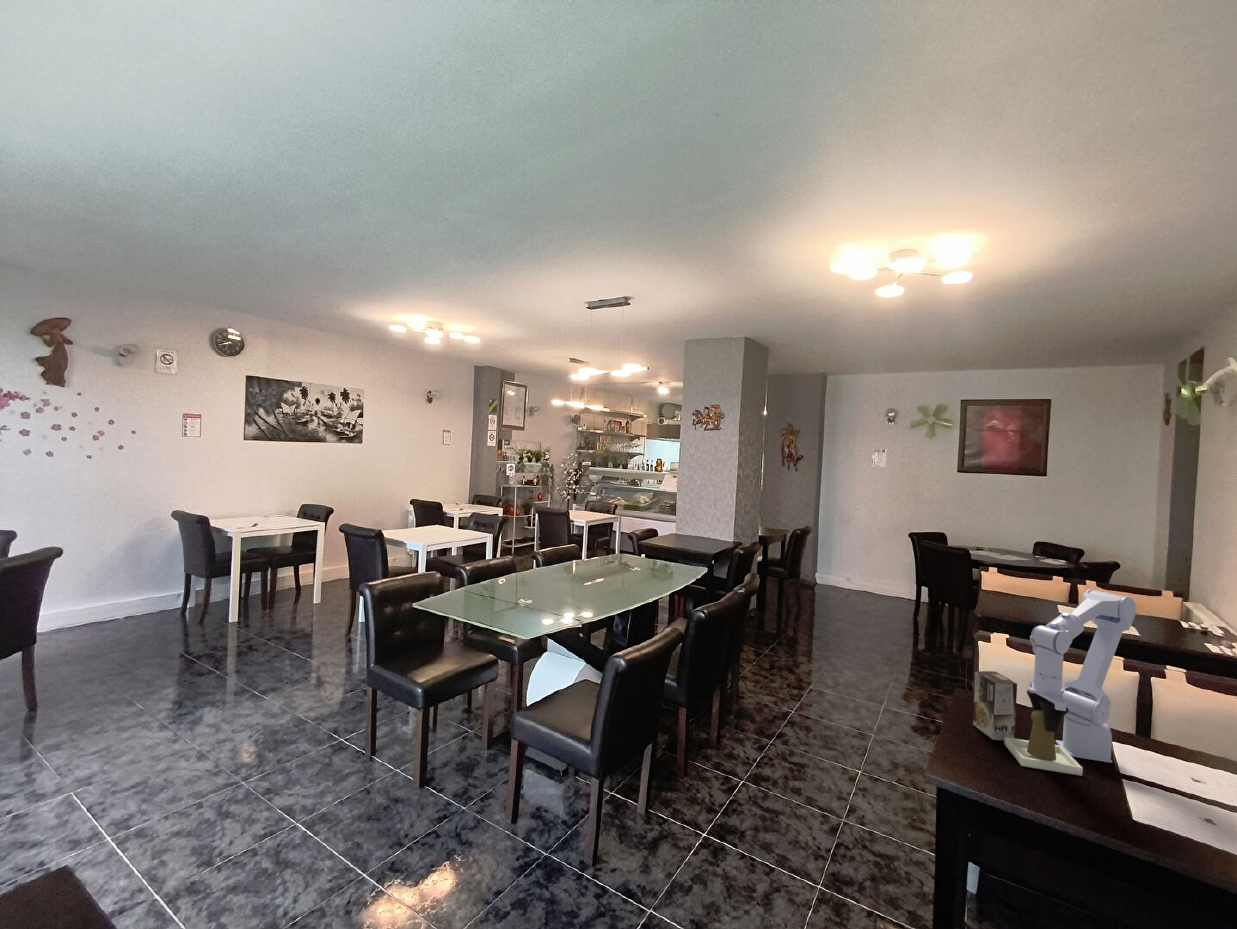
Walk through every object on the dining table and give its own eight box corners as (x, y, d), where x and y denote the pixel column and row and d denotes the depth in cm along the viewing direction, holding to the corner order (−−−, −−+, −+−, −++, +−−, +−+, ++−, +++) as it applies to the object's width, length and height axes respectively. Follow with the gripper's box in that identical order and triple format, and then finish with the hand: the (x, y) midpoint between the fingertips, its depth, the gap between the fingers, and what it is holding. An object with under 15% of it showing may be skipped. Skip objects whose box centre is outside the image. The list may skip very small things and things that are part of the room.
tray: (1060, 752, 147) (1060, 745, 147) (1082, 775, 136) (1082, 767, 136) (1004, 744, 150) (1004, 736, 150) (1021, 765, 140) (1021, 758, 140)
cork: (1062, 762, 138) (1064, 718, 139) (1036, 758, 139) (1039, 715, 139) (1046, 750, 144) (1048, 708, 145) (1021, 747, 145) (1024, 705, 145)
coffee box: (1015, 741, 152) (1018, 683, 152) (992, 740, 152) (995, 682, 152) (993, 725, 161) (996, 670, 161) (971, 724, 161) (974, 669, 161)
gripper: (1018, 661, 150) (1015, 710, 150) (1043, 682, 136) (1040, 736, 136) (1048, 665, 148) (1045, 714, 148) (1077, 687, 134) (1074, 741, 134)
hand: (1045, 725), depth 142 cm, fingers closed on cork, 5 cm apart
